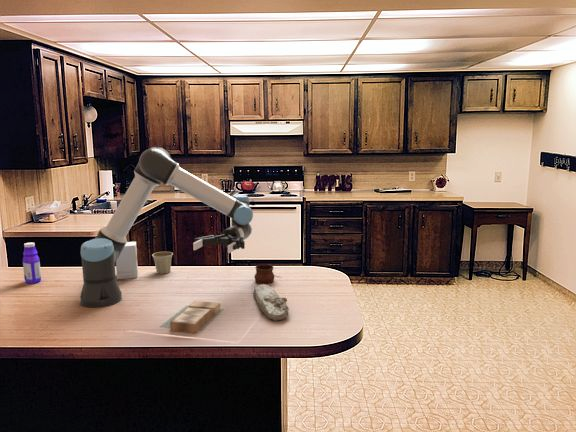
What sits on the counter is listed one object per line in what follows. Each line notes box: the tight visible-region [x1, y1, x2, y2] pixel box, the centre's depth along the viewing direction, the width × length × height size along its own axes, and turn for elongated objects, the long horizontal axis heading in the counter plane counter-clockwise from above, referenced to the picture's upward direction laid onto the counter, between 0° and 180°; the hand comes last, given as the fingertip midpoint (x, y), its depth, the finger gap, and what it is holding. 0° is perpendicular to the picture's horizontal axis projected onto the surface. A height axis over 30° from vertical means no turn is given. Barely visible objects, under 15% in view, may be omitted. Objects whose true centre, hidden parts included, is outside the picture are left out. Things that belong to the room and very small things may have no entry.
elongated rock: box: [252, 284, 290, 321], centre depth 182 cm, size 35×5×10 cm
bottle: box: [22, 242, 42, 284], centre depth 210 cm, size 7×6×17 cm
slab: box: [169, 307, 212, 334], centre depth 163 cm, size 9×3×14 cm
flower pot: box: [151, 251, 174, 275], centre depth 224 cm, size 9×9×9 cm
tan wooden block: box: [188, 300, 222, 317], centre depth 173 cm, size 10×5×3 cm, turn 76°
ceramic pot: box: [253, 263, 282, 285], centre depth 209 cm, size 18×18×7 cm
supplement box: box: [115, 241, 139, 280], centre depth 218 cm, size 9×9×15 cm
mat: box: [159, 305, 224, 332], centre depth 169 cm, size 15×20×1 cm
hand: (211, 248), depth 177 cm, fingers open, 13 cm apart
